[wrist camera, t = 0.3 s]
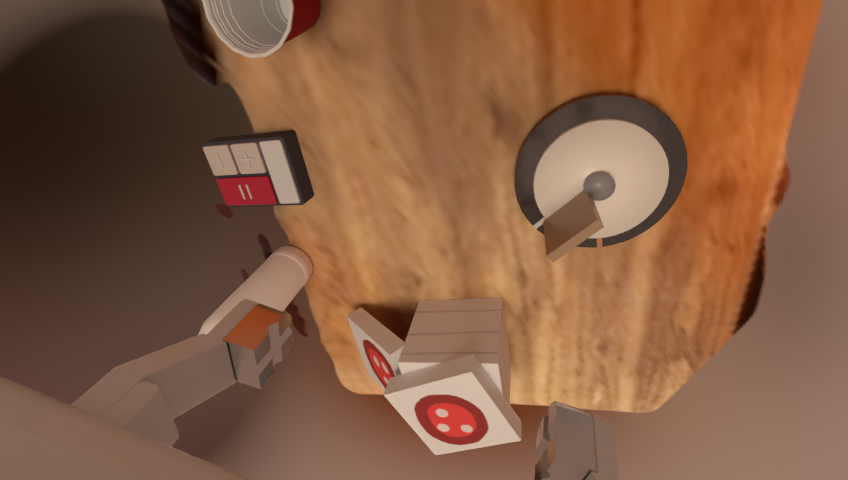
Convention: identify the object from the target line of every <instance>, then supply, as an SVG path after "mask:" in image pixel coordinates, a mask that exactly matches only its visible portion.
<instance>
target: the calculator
mask: <svg viewBox="0 0 848 480" xmlns="http://www.w3.org/2000/svg"><path fill="white" fill-rule="evenodd" d="M202 146H203V150H204V152H205V155H206V157H207V159H208V162H209V164H210V166H211V169H212V171H213V174H214V175H215V177H216V180H217V183H218V186H219V188H220V190H221V193H222V195H223V198H224V200H225V202H226V204H227V205H228V206H229V207H233V206H234V207H237V206H276V205H303V204H304V203H306V202H307V201H308V200H309V199H311V198H312V197H313V196H314V192H313V189H312V186H311V182H310V179H309V176H308V172H307V169H306V165H305V162H304V159H303V155H302V152H301V149H300V145H299V142H298V139H297V135H296V132H295V131H294V130H289V131H279V132H271V133H264V134H253V135H242V136H232V137H220V138H214V139H212V140H209V141H207V142H204V143H203V144H202Z"/></svg>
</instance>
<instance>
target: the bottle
mask: <svg viewBox="0 0 848 480" xmlns="http://www.w3.org/2000/svg"><path fill="white" fill-rule="evenodd" d="M312 272H313V265H312V262H311V260H310V258H309V257H308V256H307V255H306V254H305V252H303V251H302V250H300V249H299V248H296V247H293V246H282V247H280V248H278V249H277V250H276V251H274V252H273V253H272V254H271V255H270V256H269V257H268V259H267V260H266V261H265V262H264V263H263V264H262V265H261V266H260V267H259V268H258V269H257V270H256V271H255V272H254V273H253V274H252V275H251V276H250V277H249V278H248V279H247V280H246V281H245V282H244V283H243V284H242V285H241V286H240V287H239V288H238V289H237V290H236V291H235V292H234V293H233V294H232V295H231V296H230V297H229V298H228V299H227V300H226V301H225V302H224V303H223V304H222V305H221V306H220V307H219V308H218V309H217V310H216V311H215V312H214V313H213V314H212V315H211V316H210V317H209V318H208V319H207V320H206V321H205V322H204V324H203V325H202V327H201V330H200V332H199V334H198V335H200V334H205V335H207V334H208V333H209V332H210V331H211V330H212V329H213V328H214V327H215V326H216V325H217V324H218V323H219V322H220V321H221V320H222V319H223V318H224V317H225V316H226V315H227V314H228V313H229V312H230V311H231V310H232V309H233V308H234V307H235V306H236V305H237V304H238V303H239V302H240V301H242V300H244V299H248V300H251V301H254V302H257V303H260V304H263V305H266V306H269V307H271V308H274V309H277V310H280V311H282V312H283V311H284V309H285V308H286V307H287V306H288V304H289V303H290V302H291V300H292V299H293V298H294V297H295V295H296V294H297V293H298V292H299V290H300V289H301V288H302V287H303V286H304V285H305V284H306V282H307V281H308V279H309V277H310V276H311V274H312Z"/></svg>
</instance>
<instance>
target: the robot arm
mask: <svg viewBox="0 0 848 480" xmlns="http://www.w3.org/2000/svg"><path fill="white" fill-rule="evenodd" d="M291 322H292V320H291V314H288V313H285V312H282V311H280V310H277V309H274V308H271V307H269V306H266V305H263V304H260V303H257V302H254V301H251V300H248V299H244V300H242V301H240V302H239V303H238V304H237V305H236V306H235V307H234V308H233V309H232V310H231V311H230V312H229V313H228V314H227V315H226V316H225V317H224V318H223V319H222V320H221V321H220V322H219V323H218V324H217V325H216V326H215V327H214V328H213V329H212V330H211V331H210V332H209V333H208V334H207V335H205V334H200V335H197V336H195V337H192V338H189V339H187V340H184V341H182V342H179V343H176V344H174V345H171V346H169V347H166V348H164V349H161V350H158V351H156V352H153V353H151V354H148V355H145V356H143V357H140V358H137V359H135V360H132V361H130V362H127V363H125V364H122V365H119V366H117V367H115V368H114V369H112V370H111V371H110V372H109V373H108V374H107V375H105V376H104V377H103V378H102V379H101V380H100V381H99V382H97V383H96V384H95V385H94V386H93V387H91V388H90V389H89V390H88V391H87V392H86V393H85V394H83V395H82V396H81V397H80V398H79V399H77V400H76V401H75V402H74V403H73V404H72V405H68V404H66V403H63V402H61V401H58V400H56V399H53V398H51V397H49V396H46V395H43V394H41V393H39V392H36V391H34V390H31V389H29V388H27V387H24V386H22V385H19V384H17V383H14V382H12V381H10V380H7V379H5V378H2V377H0V480H250V479H248V478H245V477H242V476H240V475H238V474H236V473H233V472H231V471H228V470H226V469H223V468H221V467H219V466H216V465H214V464H211V463H209V462H207V461H204V460H201V459H199V458H196V457H194V456H191V455H189V454H187V453H185V452H182V451H180V450H177V449H175V448H173V447H171V446H172V445H173V444H174V443H175V442H176V440H177V439H178V438H179V432H178V430H177V428H176V425H175V423H174V421H173V419H174V418H176V417H178V416H179V415H181V414H183V413H185V412H186V411H188V410H190V409H192V408H193V407H195V406H197V405H198V404H200V403H202V402H203V401H205V400H207V399H209V398H210V397H212V396H214V395H216V394H217V393H219V392H220V391H222V390H224V389H226V388H227V387H229V386H231V385H232V384H234V383H236V381H237V382H241V383H244V384H246V385H250V386H253V387H256V388H259V389H262V387H263V386H264V385H265V383H266V382H267V381H268V379H269V378H270V377H271V375H272V374H273V372H274V364H276V363H278V362H280V361H282V360H283V359H284V358H285V356H286V355H287V353H288V351H289V349H290V347H291V345H292V340H293V331H292V330H291V329H290V327H289V325H290V324H291ZM536 450H537V452H538V454H539V456H540V458H539V460H538V462H537V464H536V465H535V480H619V474H618V465H617V457H616V450H615V441H614V432H613V424H612V422H611V420H610V419H608V418H605V417H602V416H599V415H596V414H592V413H590V412H588V411H584V410H582V409H578V408H575V407H572V406H569V405H566V404H563V403H559V402H556V401H554V402H552V404H551V405H550V407H549V415H548V416H545V417H544V418H543V420H542V422H541V424H540V427H539V431H538V436H537V444H536Z"/></svg>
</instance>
